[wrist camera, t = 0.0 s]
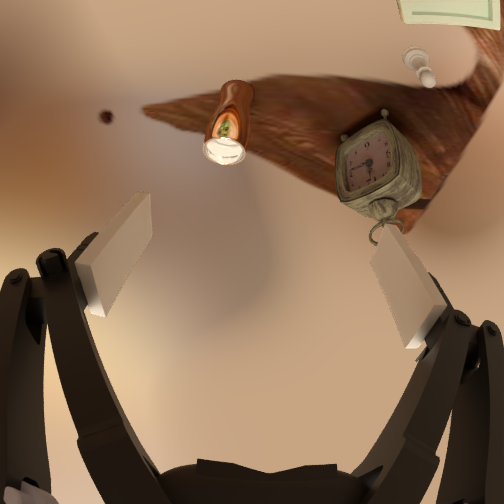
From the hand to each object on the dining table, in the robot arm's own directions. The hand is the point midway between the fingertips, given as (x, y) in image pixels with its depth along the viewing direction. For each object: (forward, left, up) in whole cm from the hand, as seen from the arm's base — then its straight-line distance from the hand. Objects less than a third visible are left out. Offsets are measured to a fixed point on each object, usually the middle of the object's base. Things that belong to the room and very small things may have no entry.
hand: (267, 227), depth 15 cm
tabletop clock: (+31, +7, -36) cm, 48 cm away
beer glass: (+15, -15, -36) cm, 42 cm away
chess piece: (+14, +17, -36) cm, 42 cm away
